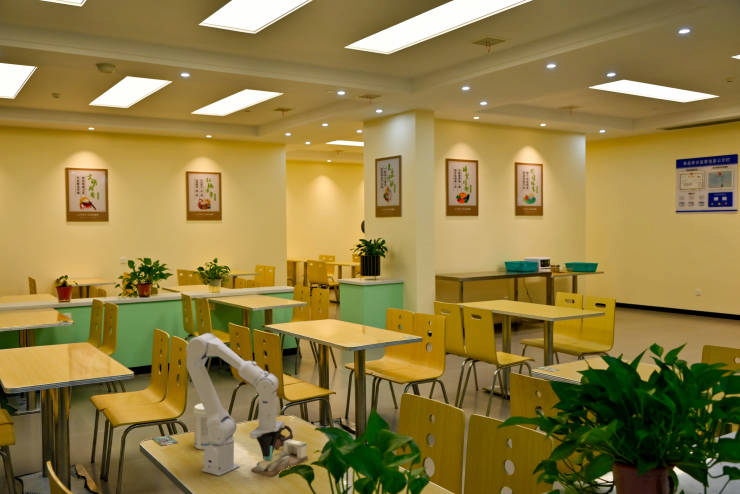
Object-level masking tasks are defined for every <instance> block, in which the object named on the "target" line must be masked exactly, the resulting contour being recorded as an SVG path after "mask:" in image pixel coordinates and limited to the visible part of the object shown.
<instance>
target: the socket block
mask: <svg viewBox="0 0 740 494" xmlns="http://www.w3.org/2000/svg"><path fill="white" fill-rule="evenodd" d="M307 444H308V443H307V442H304V441H299V440H296V439H292V440H291V439H289V440H286V441H284V446H283V451H286V452H287V454H288V455H290V454H292V453H294V454H297V458H300V459H302V458H304V457H306V456H307V453H308V451H307V450H308V449H307V448H308V447H307Z"/></svg>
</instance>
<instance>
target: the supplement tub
mask: <svg viewBox="0 0 740 494" xmlns="http://www.w3.org/2000/svg"><path fill="white" fill-rule="evenodd" d="M193 421H194V422H193V427H194V431H193V432H194V434H193V435H194V437H193V438H194V447H195V449H198V450H200V451H204V450H205V448H206V447H207V446H209V445H210V443H211V441H210V439H209V437H208V428H207V425H206V423H207V414H206V412H205V409H204V407H203V405H202V402H201V403H197V404H195V405H194V409H193Z"/></svg>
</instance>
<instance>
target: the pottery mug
mask: <svg viewBox="0 0 740 494" xmlns="http://www.w3.org/2000/svg"><path fill="white" fill-rule="evenodd" d="M284 430H287V431H288V432H289V435H288V436H287V435H283V434H282V431H284ZM278 432H280V435H279V437H278V439H277V441H276V443H275V447H274V449H276V450H279V449H280V448H281V447H284V441H286V440H289V439H291V440H293V438H294V435H293V430H292V428H291V427H290V426H288V425H286V424H284V428H279V430H278Z"/></svg>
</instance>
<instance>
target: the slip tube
mask: <svg viewBox="0 0 740 494" xmlns="http://www.w3.org/2000/svg"><path fill="white" fill-rule="evenodd" d="M286 456H288V454H287V452H286V451H284V450H283V451H280V452H278V453H276V454H273V455H272V445H270V453H269V457H265V456H263V455H262V460H261V461H258V462H257V463H256V466H257V469H258V470H259V471H264V470H266V469H268V465H269V464H271V463H273V462H276V461H278V460H280V459H282V458H284V457H286Z"/></svg>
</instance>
